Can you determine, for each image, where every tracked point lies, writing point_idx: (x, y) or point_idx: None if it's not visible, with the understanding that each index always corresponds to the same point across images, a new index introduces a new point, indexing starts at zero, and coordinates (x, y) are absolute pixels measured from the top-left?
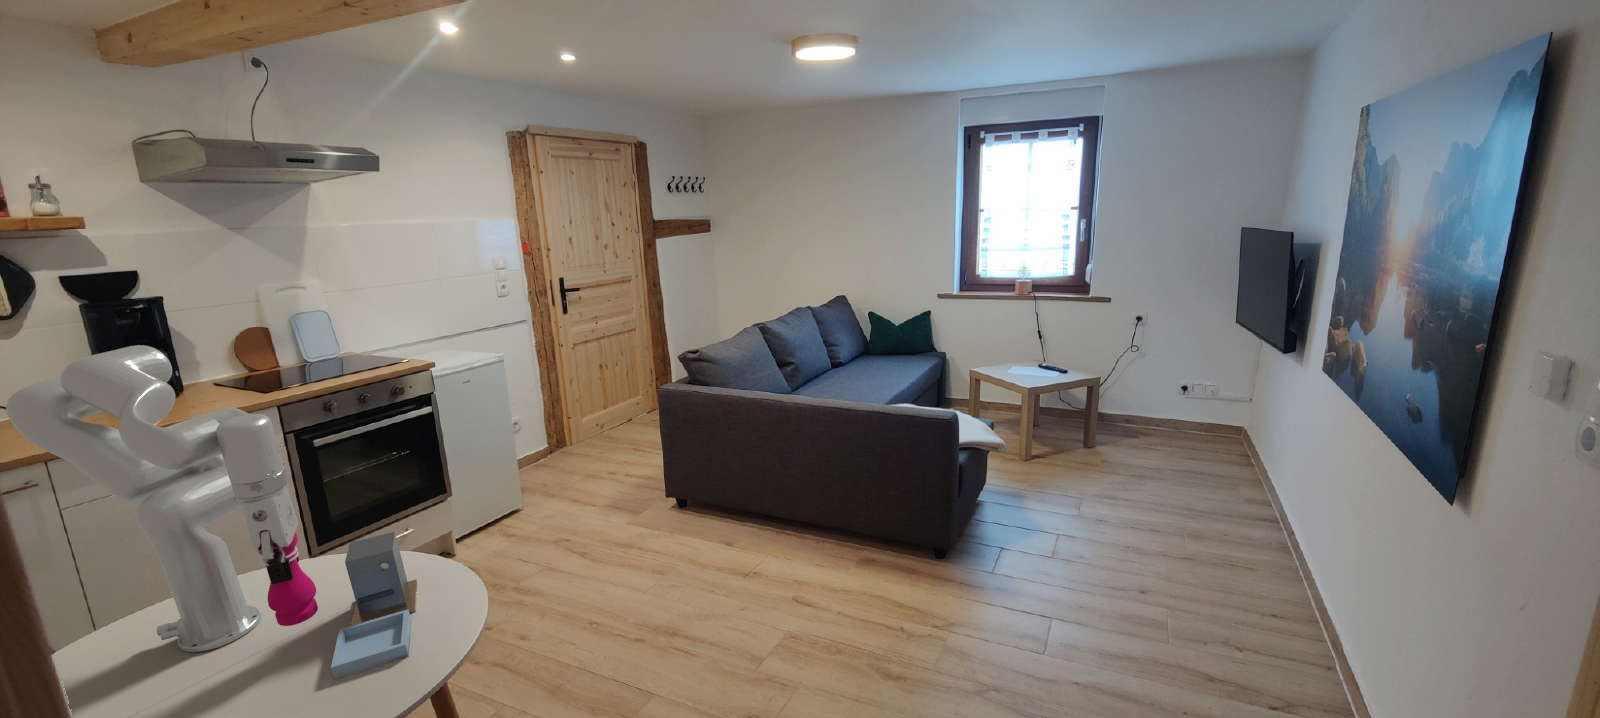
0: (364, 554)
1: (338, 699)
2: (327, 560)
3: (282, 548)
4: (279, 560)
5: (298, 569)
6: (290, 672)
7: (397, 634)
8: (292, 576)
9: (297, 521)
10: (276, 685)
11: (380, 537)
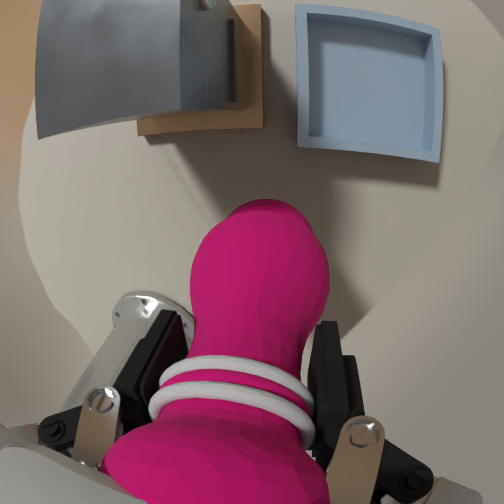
0: (152, 36)
1: (477, 154)
2: (26, 218)
3: (352, 501)
4: (391, 451)
5: (258, 308)
6: (352, 230)
7: (352, 37)
8: (337, 327)
9: (17, 459)
10: (376, 247)
11: (51, 32)
